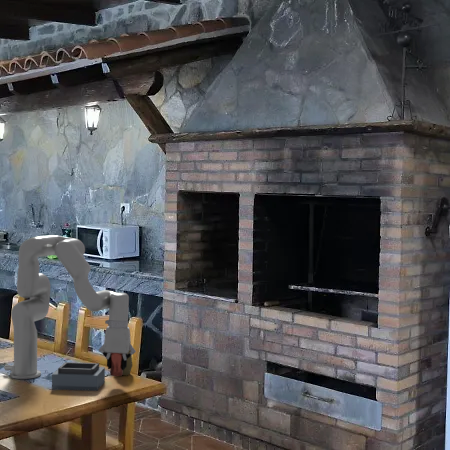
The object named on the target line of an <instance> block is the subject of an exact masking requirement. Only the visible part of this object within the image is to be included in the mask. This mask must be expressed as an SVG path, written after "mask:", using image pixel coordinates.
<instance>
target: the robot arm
mask: <svg viewBox="0 0 450 450" xmlns="http://www.w3.org/2000/svg"><path fill="white" fill-rule="evenodd" d="M85 252H86V246H85V244H84V243H83V242H82V240H80V239H78V238H73V237H67V236H62V235H54V234H51V235H39V236H33V237H29V238H28V239H25V240H24V241H23V242H21V245H20V246H19V249H18V268H17V279H16V280H17V282H16V291H17V295H18V296H19V297H20V298H24V299H26V300H22V301H19V302H17V303H16V304H14V306H13V307H12V309H11V320H12V327H13V364H12V365H11V364H5V365H4V366H3V367H4V370H5V371H10V372H9V377H10V378H12V379H16V380H17V379H18V380H28V379H35V378H38V377H40V376H41V374H42V372H41V370H39V369H38V329H37V327H36V323H35V322H37V321H40V320H43V319H45V318H46V317H47V316H48V313H49V310H50V309H49V308H50V301H51V300H50V299H51V282H50V279H49V277H48V276H47V275H45V274H44V273H42V272H40V261H39V259H38V258H39V257H40V258H41V257H48V256H55V257H57V259H58V260H59V262H60V263H61V264H62V266H63V267H64V268H65V270H66V271H67V273H68V274H69V275H70V276H71V278H72V280H73V287H74V290H75V293H76V295H77V298H79V300H80V302H81V303H82V304H83V305H84V307H85V308H86V309H87V310H89V311H90V312H94V313H95V312H101V311H103V310H109V311H108V319H107V320H105V321H104V323H105V324H106V325H107V326H106V329H105V332H104V333H105V335H104V341H103V344H102V345H101V347H100V348H99V349H98V351H99V352H100V353H101V354H103V357H105V359H106V367H107V369H108V370H110V365H111V353H122V354H123V360H122V370H124V369H125V368H126V367H127V359H128V358H129V357H130V356H131V355H132V356H133V355H134V354H135V353H136V349H135V348H134V347H133V345H132V343H131V341H132V340H131V329H130V327H129V304H130V303H129V301H130V297H129V294H128V293H126V292H115V291H112V290H108V289H103V290H98V291H96V290H95V289H94V287H93V286H92V285H91V283H90V281H89V273H90V272H91V269H92V268H91V265H90V264H89V262H88V261H87V259H86V258H85V257H84V255H85ZM28 298H29V299H28ZM129 350H131V352H130V353H129V354H127V353H128V352H129Z"/></svg>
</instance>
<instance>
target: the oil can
mask: <svg viewBox="0 0 450 450" xmlns="http://www.w3.org/2000/svg"><path fill="white" fill-rule="evenodd" d="M122 360H123V354H122V353H111V365H110V369H109V371H110V373H109V375H110V376H112V377H121V376H122V375H123V370H122ZM122 377H123V376H122Z"/></svg>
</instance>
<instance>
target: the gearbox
mask: <svg viewBox="0 0 450 450" xmlns="http://www.w3.org/2000/svg"><path fill="white" fill-rule="evenodd" d="M105 374H106V368H105V367H103V366H100V362H97V363H96V362H72V361H69V362H67V361H66V362H64V363H63V364H62V365H60V366H59V367H58V368H57V369H55V371H54V372H53V373H52V374H51V390H57V391H58V390H60V391H61V390H62V391H63V390H64V391H87V392H88V391H89V392H93V391H94V392H97V391H99V389H100V388H101V387H102V386H103V385H104V384H105V382H106V380H105V378H106V375H105Z"/></svg>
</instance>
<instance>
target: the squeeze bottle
mask: <svg viewBox="0 0 450 450" xmlns="http://www.w3.org/2000/svg"><path fill="white" fill-rule="evenodd" d="M130 352H131V350H129V352H128V353H127V354H129V353H130ZM132 356H133V355H131V356H130V357H129V358H128V359H127V367H126V368H125V369H124V370H123V375H126V376H128V374H129V375H130V374H131V371H132V368H133V357H132Z"/></svg>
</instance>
